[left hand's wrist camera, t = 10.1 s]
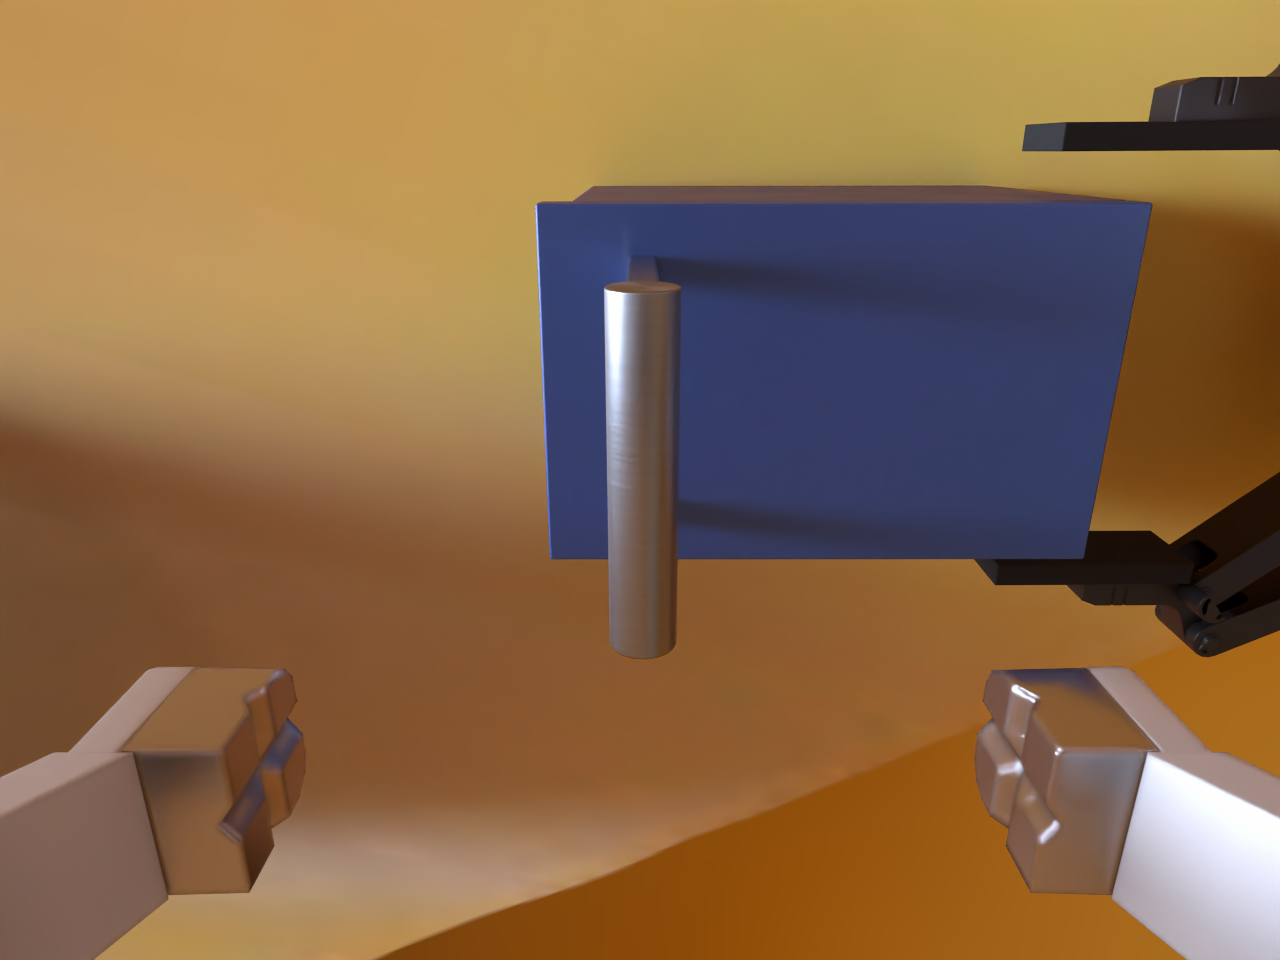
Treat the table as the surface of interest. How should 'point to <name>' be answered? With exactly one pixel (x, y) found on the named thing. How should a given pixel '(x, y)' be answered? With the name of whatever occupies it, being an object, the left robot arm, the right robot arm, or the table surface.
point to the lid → (825, 382)
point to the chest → (822, 193)
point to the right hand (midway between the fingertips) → (1008, 365)
